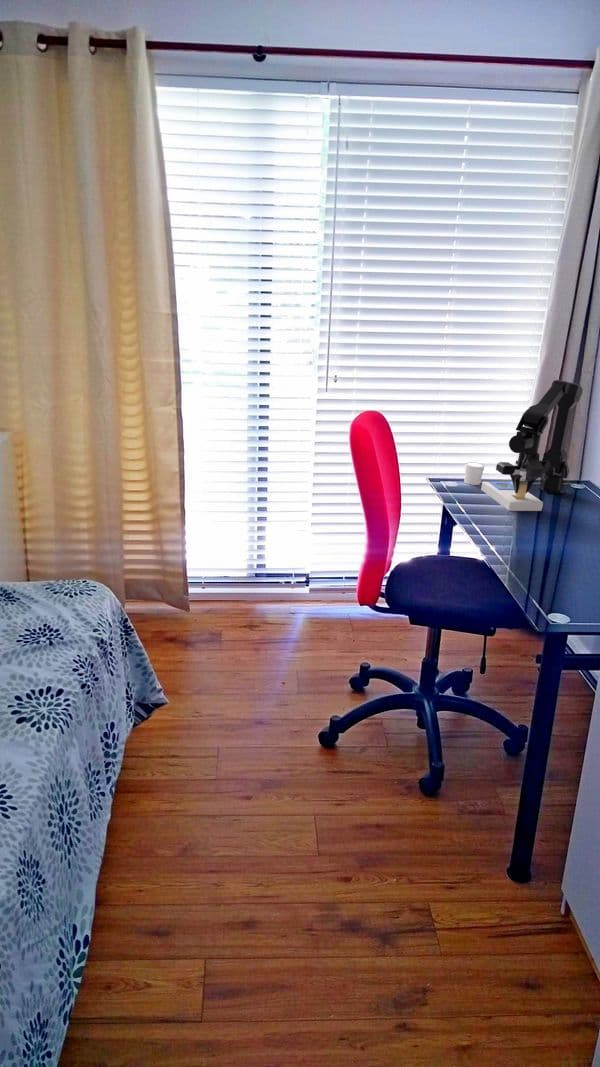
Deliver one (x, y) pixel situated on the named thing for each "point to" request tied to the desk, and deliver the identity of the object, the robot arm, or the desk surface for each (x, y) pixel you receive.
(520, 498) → the grey-capped tan cylinder
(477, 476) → the white cylinder
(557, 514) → the desk surface
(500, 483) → the block
